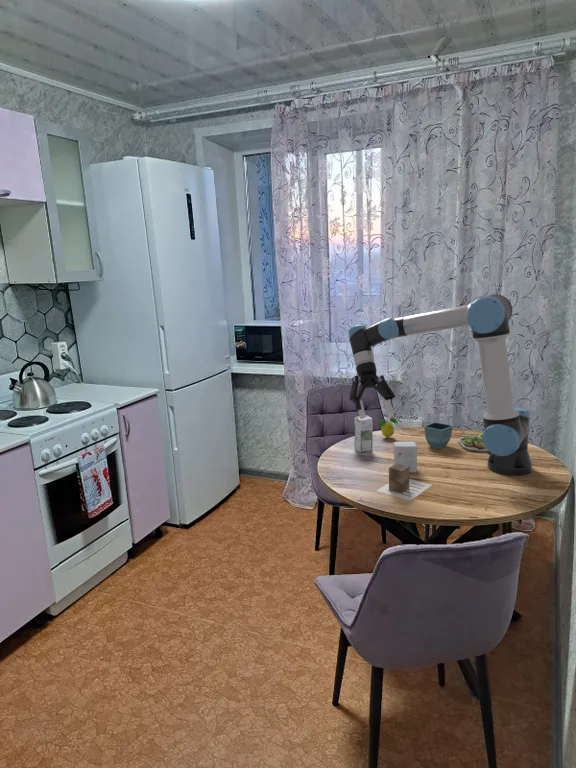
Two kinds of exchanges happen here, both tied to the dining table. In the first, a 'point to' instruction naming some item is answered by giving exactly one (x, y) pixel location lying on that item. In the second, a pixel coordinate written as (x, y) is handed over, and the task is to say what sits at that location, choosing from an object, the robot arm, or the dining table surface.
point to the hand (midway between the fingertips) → (377, 417)
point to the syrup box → (363, 434)
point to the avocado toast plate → (473, 443)
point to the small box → (406, 454)
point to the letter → (409, 494)
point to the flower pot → (438, 434)
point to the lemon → (388, 427)
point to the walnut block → (399, 478)
